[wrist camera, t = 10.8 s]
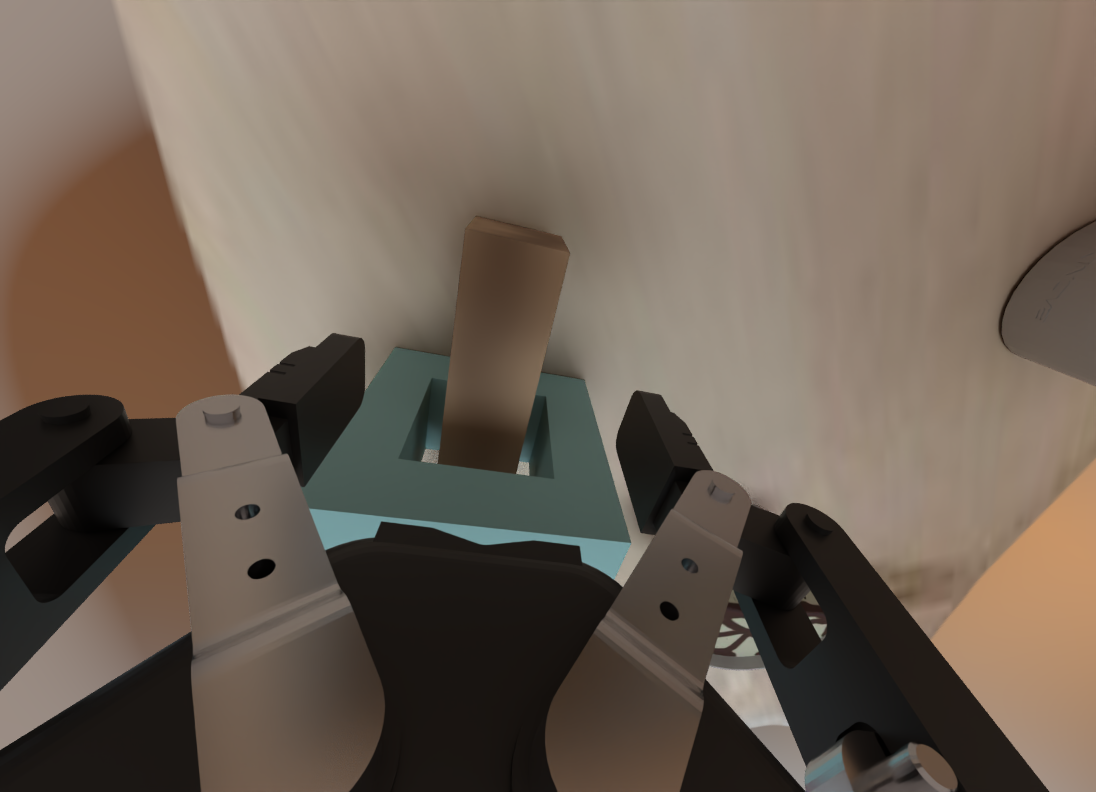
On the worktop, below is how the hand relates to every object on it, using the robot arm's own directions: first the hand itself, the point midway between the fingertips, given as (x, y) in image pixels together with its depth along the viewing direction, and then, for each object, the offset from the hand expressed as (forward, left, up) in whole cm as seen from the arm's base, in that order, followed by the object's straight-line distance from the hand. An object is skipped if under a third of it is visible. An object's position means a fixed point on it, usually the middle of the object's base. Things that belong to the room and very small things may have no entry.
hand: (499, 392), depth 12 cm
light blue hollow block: (0, +8, -13) cm, 15 cm away
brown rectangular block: (0, +7, -10) cm, 11 cm away
